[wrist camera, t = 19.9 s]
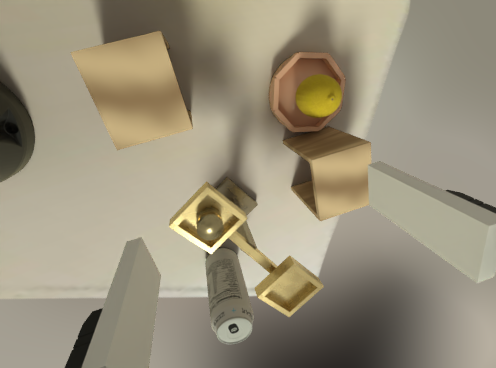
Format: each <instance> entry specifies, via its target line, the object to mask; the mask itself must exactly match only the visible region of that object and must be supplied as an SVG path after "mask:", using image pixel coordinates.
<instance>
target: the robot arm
mask: <svg viewBox="0 0 496 368" xmlns="http://www.w3.org/2000/svg"><path fill="white" fill-rule="evenodd" d="M34 144H35V136H34V129H33V125H32V122H31V120H30V117H29V115H28V113H27V111H26V110H25V108H24V106H23V105H22V104H21V102H20V101H19V100H18V98H17V97H16V96H15V95H14V94H13V93H12V92H11V91H10V90H9V89H8V88H7V87H6V86H5V85H3V84H2V83H1V82H0V182H2V181H4V180H6V179H8V178H10V177H11V176H13V175H15V174H16V173H18V172H19V171H20V170H21V169H23V168H24V166H25V165H26V164H27V163H28V161H29V160H30V158H31V156H32V153H33V150H34ZM368 188H369V206H371V207H372V208H374V209H375V210H376V211H378V212H379V213H380V214H382V215H383V216H385V217H386V218H388V219H389V220H390V221H392V222H393V223H394V224H396V225H397V226H399V227H400V228H401V229H403V230H404V231H405V232H407V233H408V234H410V235H411V236H412V237H414V238H415V239H417V240H418V241H419V242H421V243H422V244H423V245H425V246H426V247H428V248H429V249H430V250H432V251H433V252H435V253H436V254H437V255H439V256H440V257H442V258H443V259H444V260H446V261H447V262H449V263H450V264H451V265H453V266H454V267H455V268H457V269H458V270H459V271H461V272H462V273H464V274H465V275H466V276H468V277H469V278H471V279H472V280H473V281H475V282H476V283H479V282H482V281H484V280H487V279H489V278H492V277H494V275H495V271H496V208H495V207H493V206H490V205H488V204H484V203H483V202H481V201H479V200H477V199H475V200H474V198H472V197H470V196H467V195H465V194H463V193H460V192H455V191H450V190H446V191H445V190H442V189H440V188H438V187H436V186H434V185H431V184H429V183H427V182H425V181H422V180H420V179H418V178H416V177H414V176H411V175H409V174H407V173H405V172H403V171H400V170H398V169H396V168H394V167H391V166H389V165H387V164H385V163H383V162H381V161H379V162H376V163H372V164H369V165H368ZM160 279H161V274H160V273H159V271H158V269H157V267H156V265H155V263H154V261H153V259H152V257H151V255H150V253H149V251H148V249H147V247H146V245H145V243H144V241H143V239H142V238H137V239H134V240H131V241H128V242H127V243H126V246H125V248H124V251H123V254H122V257H121V259H120V262H119V265H118V268H117V271H116V273H115V276H114V279H113V282H112V284H111V287H110V290H109V293H108V296H107V298H106V302H105V304H104V307H103V308H102V309H99V310H96V311H93V312H92V313H91V314H90V316H89V317H88V318H87V320H86V321H85V322H84V324H83V325H82V328H81V330H80V333H79V335H78V339H77V340H76V342H75V345H74V347H73V348H74V349H73V350H72V352H71V354H70V357H69V359H68V361H67V364H66V366H65V368H149V363H150V355H151V347H152V339H153V332H154V324H155V316H156V309H157V302H158V294H159V286H160Z"/></svg>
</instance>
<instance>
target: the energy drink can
mask: <svg viewBox="0 0 496 368" xmlns="http://www.w3.org/2000/svg"><path fill="white" fill-rule="evenodd" d="M205 264H206V276H207V286H208V297H209V308H210V318H211V326H212V329H213V330H214V332H215V333H216V334H217V338H218V339H219V341H221V342H223V343H225V344H236V343H239V342H241V341H243V340H245V339H246V338H247V337H248V336H249V335H250V334H251V332H252V322H253V319H254V314H253V311H252V307H251V303H250V300H249V296H248V292H247V289H246V285H245V281H244V278H243V274H242V270H241V267H240V263H239V259H238V256H237V254H236V253H235V252H234V251H232V250H230V249H227V248H219V249H216V250H215V251H214V252H213V253H212V254H210V255H209V256H208V257H207V259H206V263H205Z"/></svg>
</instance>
